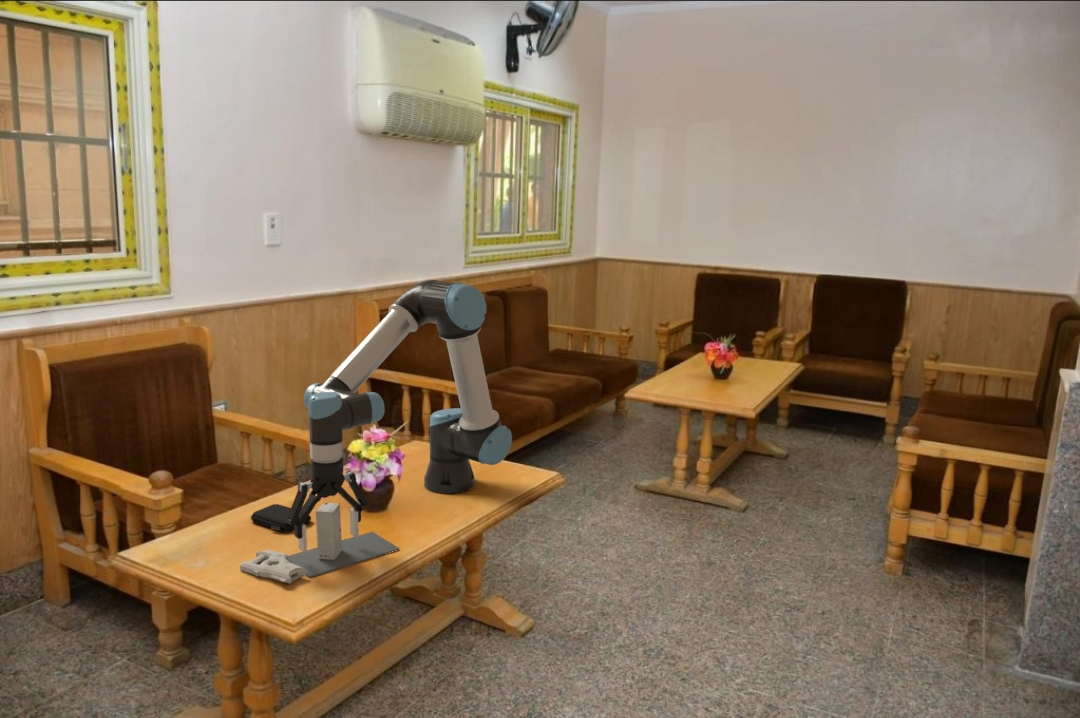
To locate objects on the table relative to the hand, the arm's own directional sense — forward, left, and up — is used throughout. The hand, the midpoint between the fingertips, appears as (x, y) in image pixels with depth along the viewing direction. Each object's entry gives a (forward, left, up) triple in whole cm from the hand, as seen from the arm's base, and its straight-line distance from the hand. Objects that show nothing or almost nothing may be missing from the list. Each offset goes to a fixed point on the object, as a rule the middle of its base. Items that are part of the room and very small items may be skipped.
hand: (329, 542), depth 202 cm
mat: (-3, +1, -3) cm, 5 cm away
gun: (+13, -1, -4) cm, 14 cm away
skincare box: (0, 0, -3) cm, 3 cm away
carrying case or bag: (+1, -26, -4) cm, 27 cm away
